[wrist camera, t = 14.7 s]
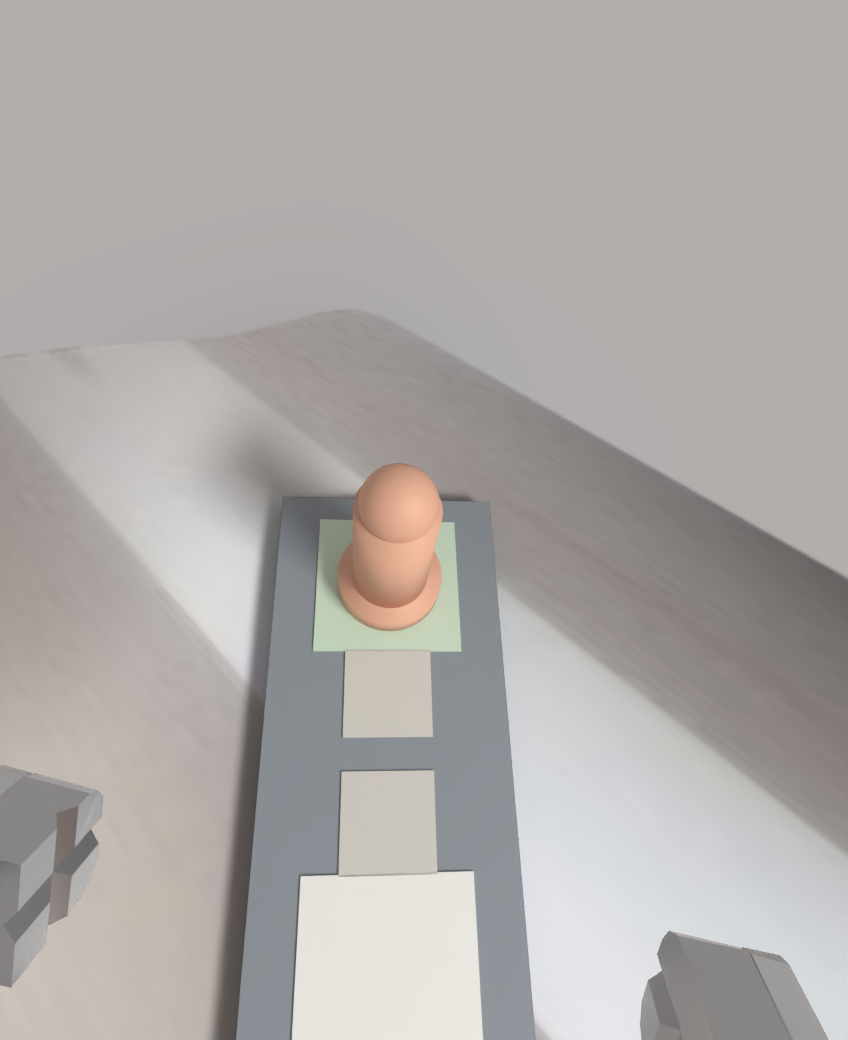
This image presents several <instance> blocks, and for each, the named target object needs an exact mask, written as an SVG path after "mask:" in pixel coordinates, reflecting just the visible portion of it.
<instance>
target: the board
mask: <svg viewBox="0 0 848 1040" xmlns="http://www.w3.org/2000/svg"><path fill="white" fill-rule="evenodd" d="M354 499H355V498H317V497H283V503H282V515H281V526H280V538H279V549H278V561H277V572H276V584H275V595H274V607H273V618H272V630H271V641H270V653H269V664H268V676H267V687H266V699H265V710H264V722H263V733H262V745H261V756H260V768H259V779H258V791H257V802H256V814H255V825H254V837H253V848H252V860H251V871H250V883H249V894H248V906H247V917H246V929H245V940H244V952H243V963H242V975H241V986H240V998H239V1009H238V1021H237V1032H236V1040H536V1039H535V1027H534V1015H533V1004H532V992H531V981H530V969H529V957H528V946H527V934H526V922H525V911H524V899H523V887H522V876H521V864H520V852H519V841H518V829H517V818H516V806H515V794H514V783H513V771H512V759H511V748H510V736H509V724H508V713H507V701H506V689H505V678H504V666H503V654H502V643H501V631H500V620H499V608H498V596H497V585H496V573H495V561H494V550H493V538H492V526H491V515H490V503H489V502H472V501H441V502H442V506H443V517H442V522H441V526H440V530H439V534H438V538H437V542H436V546H435V550H434V551H435V553H436V555H437V557H438V559H439V562H440V565H441V571H442V580H441V586H440V590H439V593H438V597H437V600H436V602H435V605H434V606H433V608H432V610H431V611H430V612H429V614H428V615H427V616H426V617H425V618H424V619H423V620H421V621H420V622H419V623H417V624H415V625H413V626H411V627H409V628H406V629H403V630H398V631H381V630H376V629H373V628H370V627H367V626H365V625H363V624H362V623H360V622H359V621H357V620H356V619H355V618H354V617H353V616H352V615H351V614H350V613H349V612H348V611H347V609H346V608H345V606H344V605H343V603H342V600H341V598H340V594H339V587H338V567H339V562H340V559H341V557H342V555H343V553H344V551H345V549H346V548H347V547H348V545H349V544H350V543H351V542H352V541H353V504H354Z"/></svg>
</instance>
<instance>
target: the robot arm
mask: <svg viewBox="0 0 848 1040" xmlns="http://www.w3.org/2000/svg"><path fill="white" fill-rule="evenodd" d="M102 805H103V795H102V794H101V793H100V792H99V791H98V790H95V789H91V788H87V787H84V786H80V785H76V784H73V783H69V782H65V781H62V780H58V779H54V778H51V777H47V776H43V775H40V774H36V773H34V774H32V773H30V772H26V771H23V770H19V769H15V768H12V767H8V766H4V765H0V985H2V986H7V987H12V986H13V984H14V983H15V982H16V981H17V979H18V978H19V977H20V975H21V974H22V973H23V972H24V970H25V969H26V968H27V967H28V965H29V964H30V963H31V962H32V960H33V959H34V958H35V956H36V955H37V954H38V953H39V951H40V950H41V949H42V948H43V946H44V945H45V944H46V937H47V928H48V925H50V924H52V923H54V922H56V921H58V920H60V919H62V918H64V917H66V916H68V914H69V913H70V912H71V910H72V909H73V908H74V906H75V905H76V904H77V902H78V901H79V900H80V898H81V896H82V894H83V892H84V890H85V888H86V886H87V884H88V882H89V880H90V878H91V876H92V873H93V869H94V866H95V863H96V859H97V852H98V844H99V843H98V841H97V840H96V838H95V836H94V834H93V832H92V830H91V828H92V827H93V826H94V825H95V824H96V822H97V821H98V820H99V819H100V818H101V817H102ZM657 955H658V958H659V961H660V965H661V968H662V971H661V972H660V973H658V974H657V975H655V976H654V977H652V978H651V979H649V980H648V982H647V986H646V989H645V992H644V996H643V999H642V1007H641V1020H640V1028H641V1039H642V1040H829V1039H828V1037H827V1035H826V1034H825V1032H824V1030H823V1028H822V1026H821V1024H820V1022H819V1020H818V1018H817V1017H816V1015H815V1013H814V1011H813V1009H812V1007H811V1005H810V1003H809V1001H808V1000H807V998H806V996H805V994H804V992H803V990H802V988H801V986H800V984H799V983H798V981H797V979H796V977H795V975H794V973H793V971H792V969H791V967H790V966H789V964H788V963H787V962H786V961H785V960H784V959H783V958H782V957H781V956H780V955H775V954H770V953H766V952H761V951H757V950H752V949H748V948H739V947H735V946H731V945H727V944H722V943H718V942H714V941H710V940H706V939H701V938H697V937H693V936H689V935H685V934H680V933H676V932H672V931H669V932H668V933H667V934H666V935H665V936H664V938H663V939H662V942H661V945H660V948H659V950H658V953H657Z"/></svg>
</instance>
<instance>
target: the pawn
mask: <svg viewBox="0 0 848 1040" xmlns="http://www.w3.org/2000/svg"><path fill="white" fill-rule="evenodd" d="M442 517H443V506H442V502H441V499H440V497H439V495H438V492H437V489H436V487H435V485H434V483H433V481H432V480H431V479H430V477H429V476H428V475H427V474H426V473H424V472H423V471H422V470H420V469H419V468H417V467H414V466H412V465H408V464H401V463H396V464H389V465H386V466H383V467H381V468H379V469H377V470H376V471H374V472H373V473H372V474H371V475H370V476H369V477H368V478H367V479H366V481H365V482H364V484H363V485H362V486H361V488H360V489H359V490H358V492H357V494H356V496H355V499H354V504H353V541H352V542H351V543H350V544H349V545H348V547H347V548H346V549H345V551H344V553H343V555H342V557H341V559H340V562H339V567H338V587H339V594H340V598H341V600H342V603H343V605H344V606H345V608H346V609H347V611H348V612H349V613H350V614H351V615H352V616H353V617H354V618H355V619H356V620H357V621H359V622H360V623H362V624H363V625H365V626H367V627H370V628H373V629H376V630H381V631H398V630H403V629H406V628H409V627H411V626H413V625H415V624H417V623H419V622H420V621H421V620H423V619H424V618H425V617H426V616H427V615H428V614H429V612H430V611H431V610H432V608H433V606H434V605H435V602H436V600H437V597H438V593H439V590H440V586H441V580H442V571H441V565H440V562H439V559H438V557H437V555H436V553H435V551H434V550H435V546H436V542H437V538H438V534H439V530H440V526H441V522H442Z"/></svg>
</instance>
